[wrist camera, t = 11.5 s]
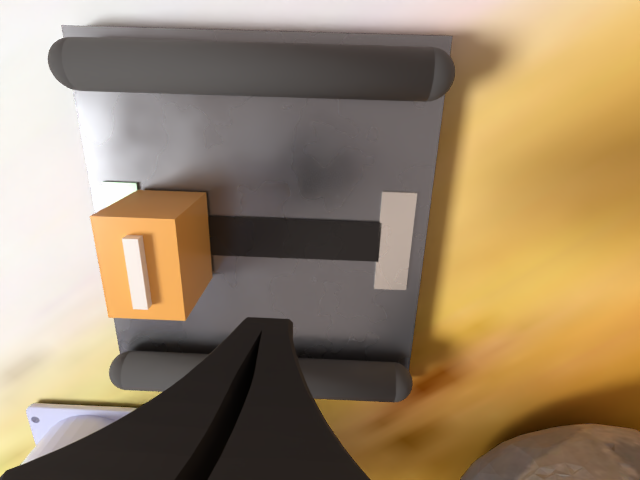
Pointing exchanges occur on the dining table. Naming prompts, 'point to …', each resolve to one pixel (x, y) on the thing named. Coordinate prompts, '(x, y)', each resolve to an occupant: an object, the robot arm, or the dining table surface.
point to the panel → (279, 200)
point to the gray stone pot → (563, 455)
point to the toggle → (153, 254)
